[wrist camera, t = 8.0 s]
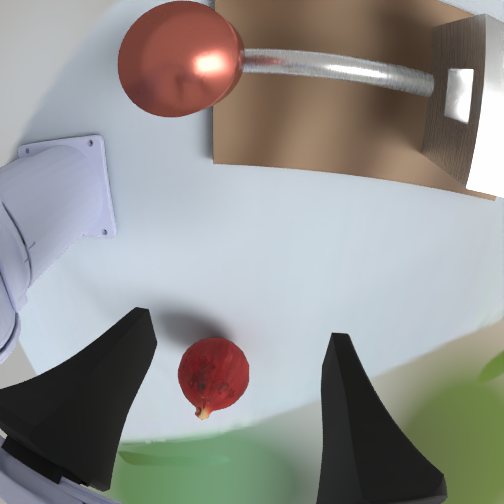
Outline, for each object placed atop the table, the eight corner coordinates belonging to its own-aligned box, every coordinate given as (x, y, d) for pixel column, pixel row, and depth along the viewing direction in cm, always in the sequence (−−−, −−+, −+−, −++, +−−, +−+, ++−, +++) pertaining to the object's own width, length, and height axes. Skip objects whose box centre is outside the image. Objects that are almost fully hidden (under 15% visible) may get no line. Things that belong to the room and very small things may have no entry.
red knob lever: (182, 102, 16) (119, 120, 10) (182, 31, 14) (118, 12, 8) (401, 120, 15) (458, 147, 9) (407, 47, 12) (468, 35, 7)
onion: (188, 313, 26) (156, 388, 19) (255, 321, 25) (239, 403, 19) (195, 356, 29) (172, 425, 22) (254, 364, 28) (241, 438, 22)
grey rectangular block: (420, 153, 16) (466, 188, 11) (432, 27, 12) (485, 13, 7) (453, 160, 16) (504, 197, 11) (466, 39, 11) (525, 34, 6)
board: (216, 160, 19) (213, 163, 18) (219, -23, 13) (216, -27, 12) (489, 196, 17) (494, 201, 16) (510, 36, 11) (516, 36, 10)
